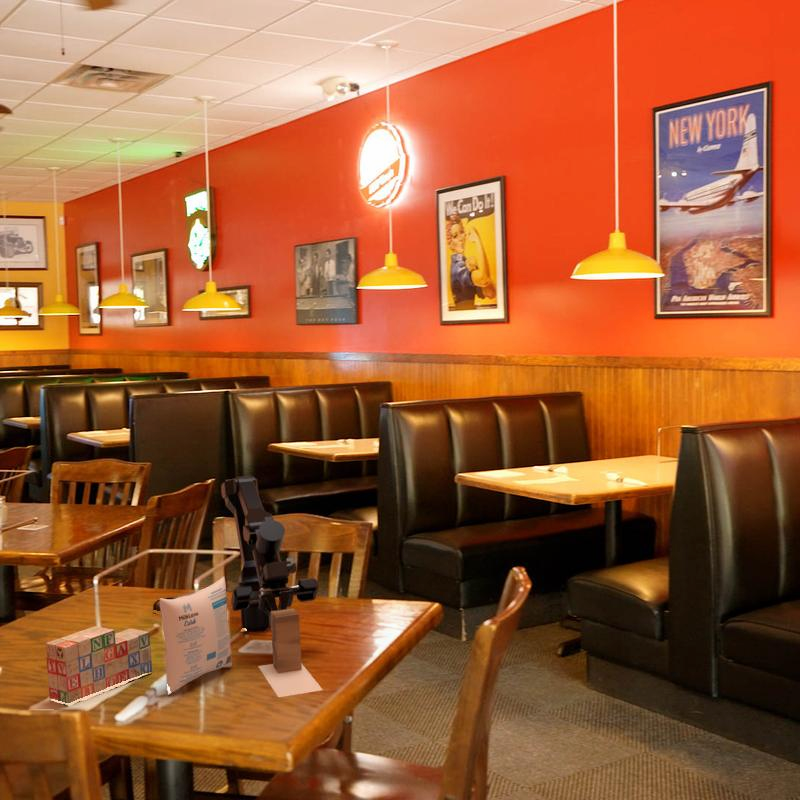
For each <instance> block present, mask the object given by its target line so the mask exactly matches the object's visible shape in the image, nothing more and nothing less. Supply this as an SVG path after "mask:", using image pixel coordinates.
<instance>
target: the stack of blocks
mask: <svg viewBox="0 0 800 800" xmlns="http://www.w3.org/2000/svg"><path fill="white" fill-rule="evenodd" d="M45 647H46V669H47V675H48V676H47V677H48V686H49V687H48V691H49V693H48V694H49V699H50V698H51V699H55V700H58V701H62V702H65V703H71V702H73V701H75V700H77V699H80V698H83V697H85V696H88V695H90V694H93V693H96V692H99V691H101V690H104V689H106V688H107V687H110V686H113V685H115V684H118V683H121V682H122V681H126V680H128V679H131V678H134V677H137V676H140V675H142V674H145V673H149V672H152V673H153V667H152V666H153V663H152V662H153V661H152V647H151V639H150V632H149V631H145V630H139V629H135V628H130V627H129V628H128V629H124V630H122V631H120V632H116V631H115V629H111V628H106V627H105V628H104V627H101V626H95V625H94V626H91V627H89V628H86V629H83V630H80V631H77V632H74V633H72V634H69V635H66V636H63V637H60V638H56V639H53V640H51V641H48V642H45Z"/></svg>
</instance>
